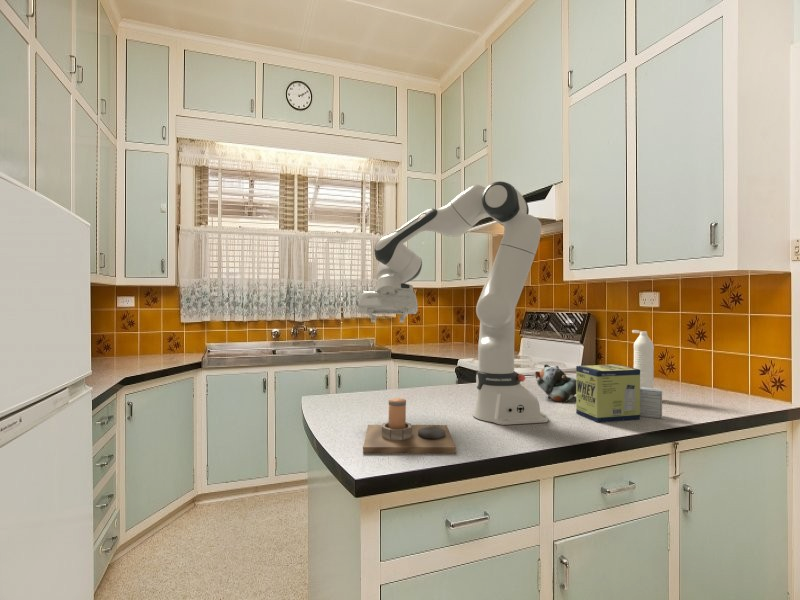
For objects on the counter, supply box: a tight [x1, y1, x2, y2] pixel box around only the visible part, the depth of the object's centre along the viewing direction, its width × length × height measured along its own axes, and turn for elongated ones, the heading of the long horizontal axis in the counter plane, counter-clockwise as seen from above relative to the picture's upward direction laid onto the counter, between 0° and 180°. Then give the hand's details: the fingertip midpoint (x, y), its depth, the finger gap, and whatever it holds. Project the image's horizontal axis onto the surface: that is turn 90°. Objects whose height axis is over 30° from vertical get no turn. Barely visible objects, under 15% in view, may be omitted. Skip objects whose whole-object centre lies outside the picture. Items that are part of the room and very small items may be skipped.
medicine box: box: [640, 387, 663, 419], centre depth 135 cm, size 8×4×9 cm, turn 65°
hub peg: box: [388, 397, 407, 429], centre depth 111 cm, size 4×4×9 cm
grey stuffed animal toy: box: [534, 364, 576, 403], centre depth 160 cm, size 15×12×14 cm
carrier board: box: [362, 421, 457, 455], centre depth 111 cm, size 22×18×4 cm
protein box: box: [575, 363, 641, 424], centre depth 134 cm, size 10×16×16 cm
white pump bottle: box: [631, 329, 655, 388], centre depth 160 cm, size 9×6×25 cm
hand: (387, 321), depth 141 cm, fingers open, 8 cm apart
